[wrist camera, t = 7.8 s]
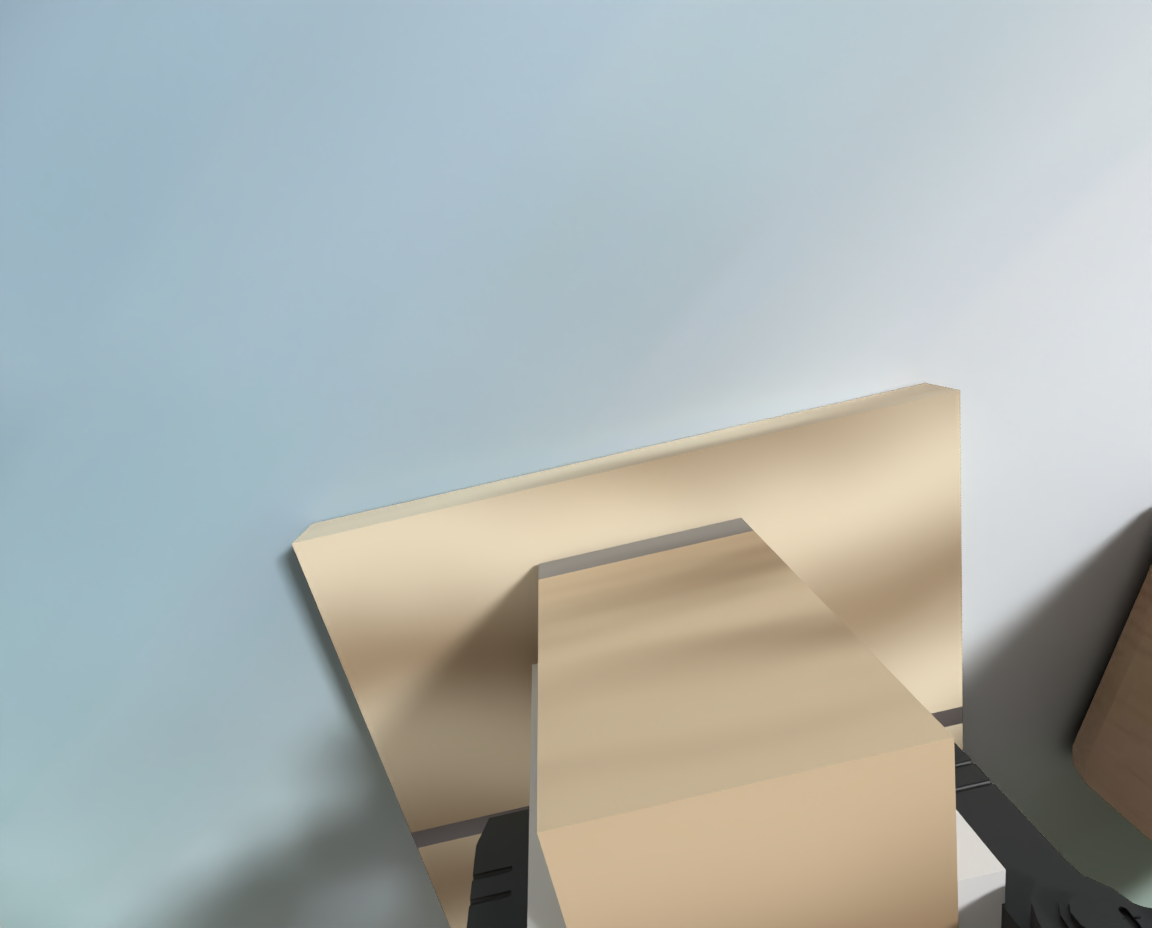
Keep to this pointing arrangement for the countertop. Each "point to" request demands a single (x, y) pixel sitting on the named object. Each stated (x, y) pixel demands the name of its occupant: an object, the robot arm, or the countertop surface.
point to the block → (1123, 722)
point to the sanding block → (730, 749)
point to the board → (611, 518)
